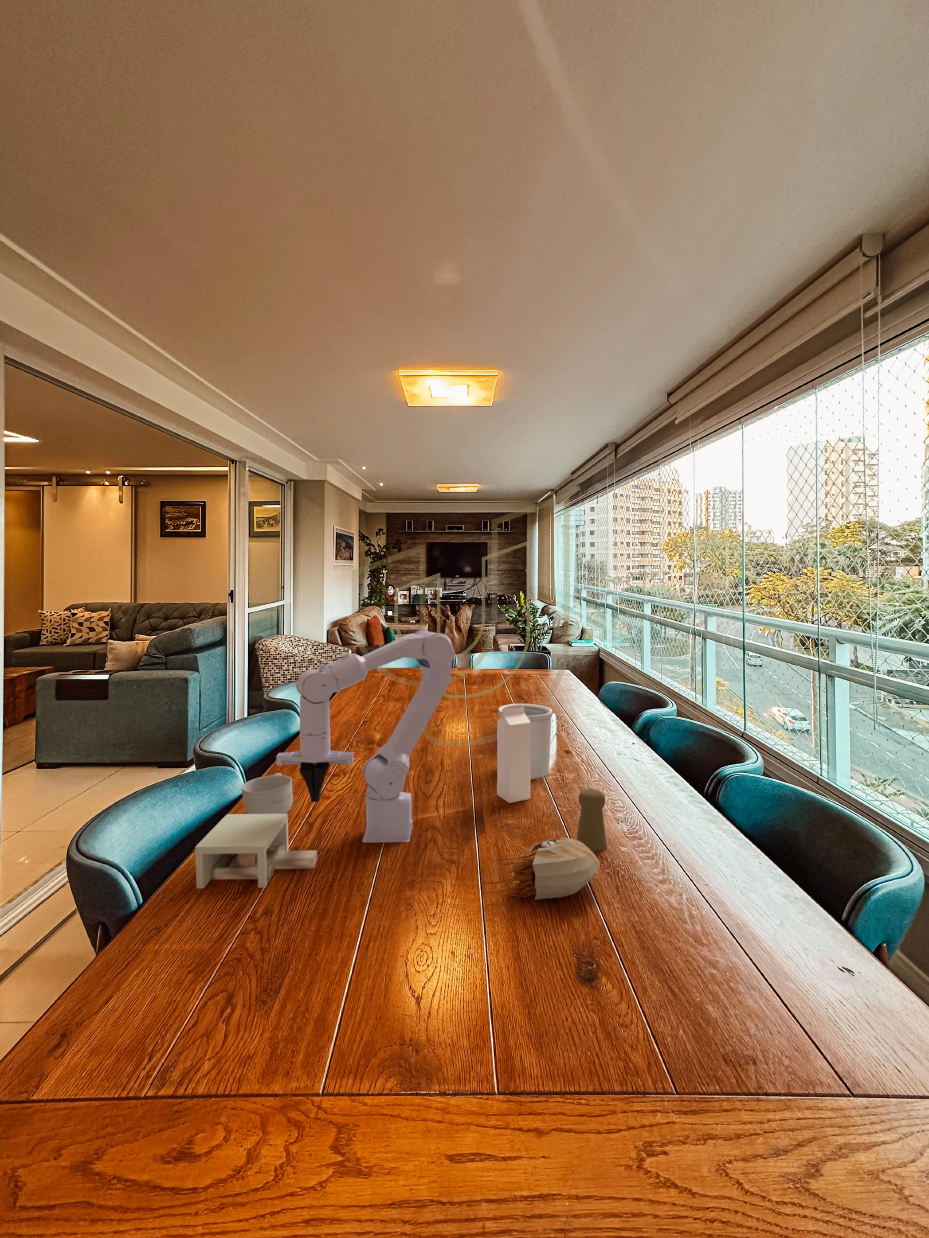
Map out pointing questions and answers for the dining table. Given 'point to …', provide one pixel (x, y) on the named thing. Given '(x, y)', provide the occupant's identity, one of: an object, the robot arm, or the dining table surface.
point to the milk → (513, 755)
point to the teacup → (268, 795)
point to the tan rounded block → (245, 859)
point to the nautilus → (551, 869)
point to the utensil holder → (537, 736)
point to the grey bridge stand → (240, 842)
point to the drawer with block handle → (275, 860)
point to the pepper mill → (592, 820)
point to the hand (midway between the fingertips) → (315, 800)
